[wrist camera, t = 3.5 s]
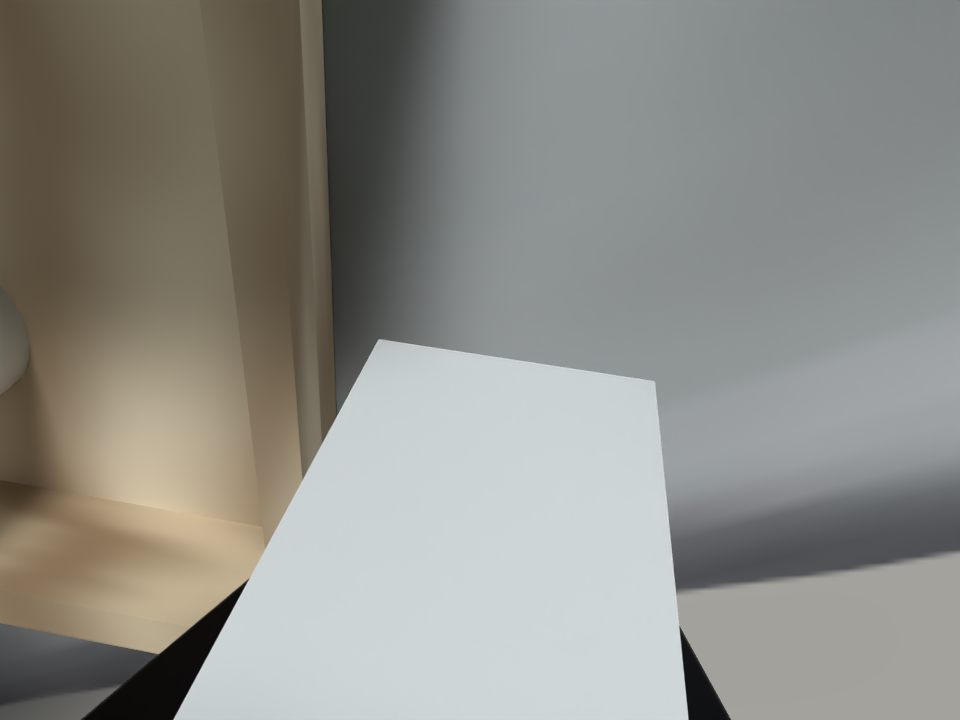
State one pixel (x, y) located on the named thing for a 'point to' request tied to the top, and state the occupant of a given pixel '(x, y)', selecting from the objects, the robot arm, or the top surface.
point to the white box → (464, 556)
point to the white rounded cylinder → (12, 343)
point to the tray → (158, 303)
